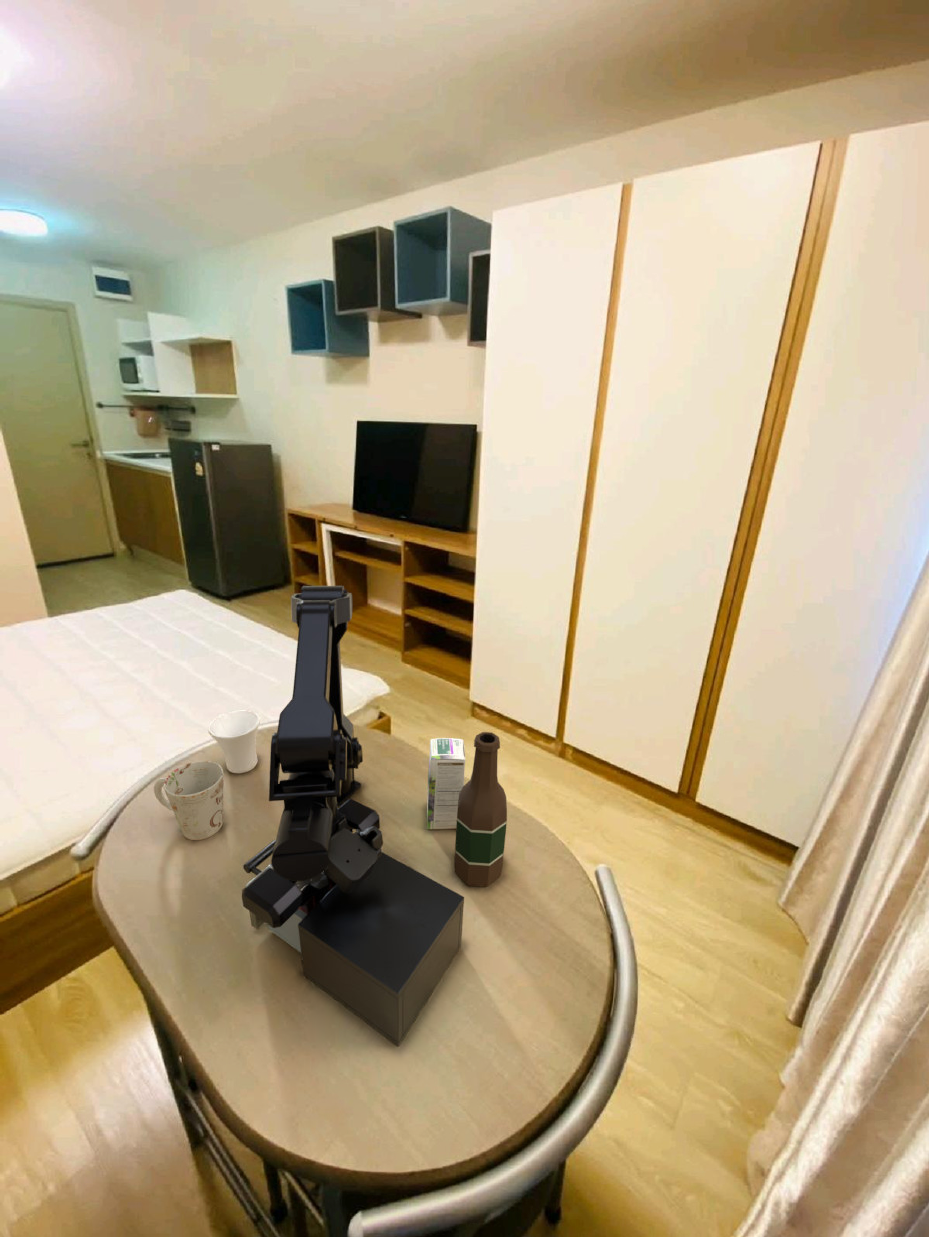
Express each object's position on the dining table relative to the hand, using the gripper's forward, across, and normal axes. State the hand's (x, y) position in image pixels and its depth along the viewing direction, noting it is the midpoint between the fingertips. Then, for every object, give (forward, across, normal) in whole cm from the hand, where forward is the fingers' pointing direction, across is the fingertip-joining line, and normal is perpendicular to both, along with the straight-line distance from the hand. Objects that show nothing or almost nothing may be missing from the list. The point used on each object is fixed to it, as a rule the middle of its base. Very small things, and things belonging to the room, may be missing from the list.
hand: (321, 901), depth 70 cm
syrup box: (+4, +25, -4) cm, 26 cm away
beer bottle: (+4, +19, -14) cm, 24 cm away
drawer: (+2, 0, +2) cm, 3 cm away
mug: (+3, +1, +30) cm, 30 cm away
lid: (+1, 0, 0) cm, 1 cm away
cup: (+3, +15, +36) cm, 39 cm away
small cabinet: (+3, 0, -11) cm, 11 cm away
